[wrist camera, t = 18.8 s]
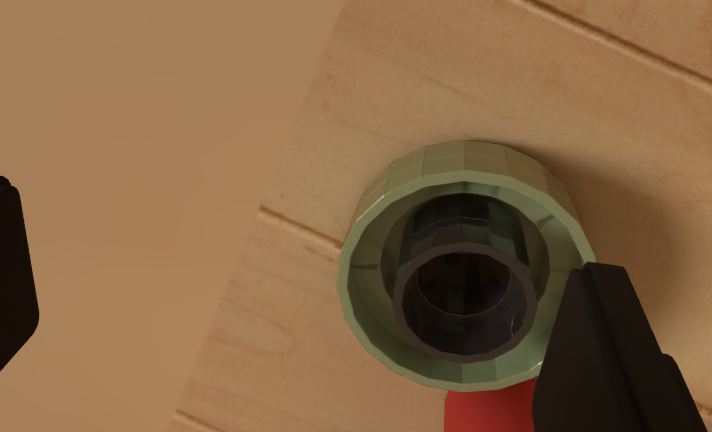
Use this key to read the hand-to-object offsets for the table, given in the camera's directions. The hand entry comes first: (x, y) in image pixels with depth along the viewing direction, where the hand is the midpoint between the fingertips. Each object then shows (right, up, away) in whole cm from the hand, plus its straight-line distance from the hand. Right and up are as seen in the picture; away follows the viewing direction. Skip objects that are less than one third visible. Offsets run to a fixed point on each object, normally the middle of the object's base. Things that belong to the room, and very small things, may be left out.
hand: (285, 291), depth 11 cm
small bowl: (+7, -1, +27) cm, 28 cm away
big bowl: (+7, 0, +27) cm, 28 cm away
